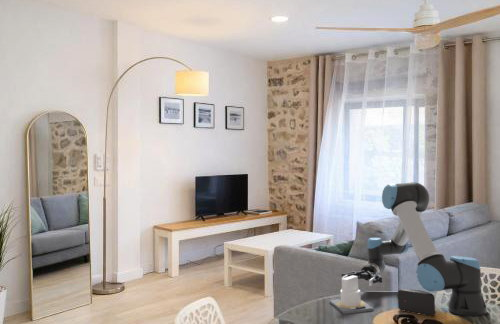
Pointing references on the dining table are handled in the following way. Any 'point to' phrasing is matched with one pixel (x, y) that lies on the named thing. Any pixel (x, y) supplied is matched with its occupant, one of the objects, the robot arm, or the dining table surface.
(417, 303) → the black two-tone rounded device
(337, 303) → the plate
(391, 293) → the dining table surface
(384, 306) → the dining table surface
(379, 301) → the dining table surface
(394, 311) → the dining table surface
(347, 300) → the base with upright slab
